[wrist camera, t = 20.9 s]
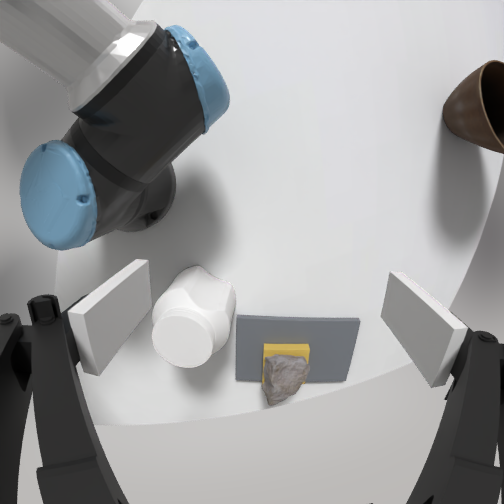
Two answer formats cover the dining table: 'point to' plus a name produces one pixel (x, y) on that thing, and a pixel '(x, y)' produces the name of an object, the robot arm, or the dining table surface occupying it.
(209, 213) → the dining table surface
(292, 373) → the stone
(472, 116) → the plant pot
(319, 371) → the slate board
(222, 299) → the jar
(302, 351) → the yellow block
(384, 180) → the dining table surface
